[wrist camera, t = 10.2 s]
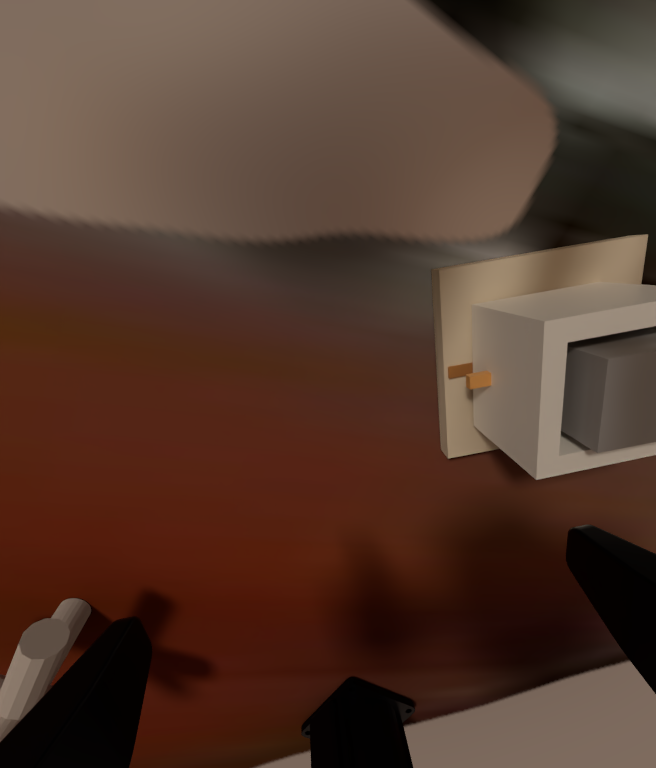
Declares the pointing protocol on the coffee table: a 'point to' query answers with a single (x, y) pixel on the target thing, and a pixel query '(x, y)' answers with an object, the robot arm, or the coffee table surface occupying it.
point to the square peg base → (584, 357)
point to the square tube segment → (546, 369)
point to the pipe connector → (39, 661)
